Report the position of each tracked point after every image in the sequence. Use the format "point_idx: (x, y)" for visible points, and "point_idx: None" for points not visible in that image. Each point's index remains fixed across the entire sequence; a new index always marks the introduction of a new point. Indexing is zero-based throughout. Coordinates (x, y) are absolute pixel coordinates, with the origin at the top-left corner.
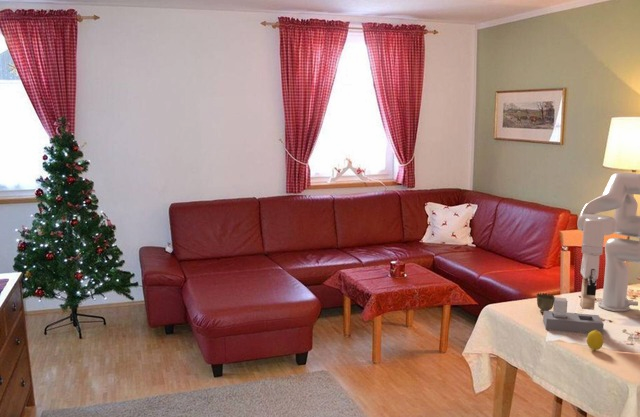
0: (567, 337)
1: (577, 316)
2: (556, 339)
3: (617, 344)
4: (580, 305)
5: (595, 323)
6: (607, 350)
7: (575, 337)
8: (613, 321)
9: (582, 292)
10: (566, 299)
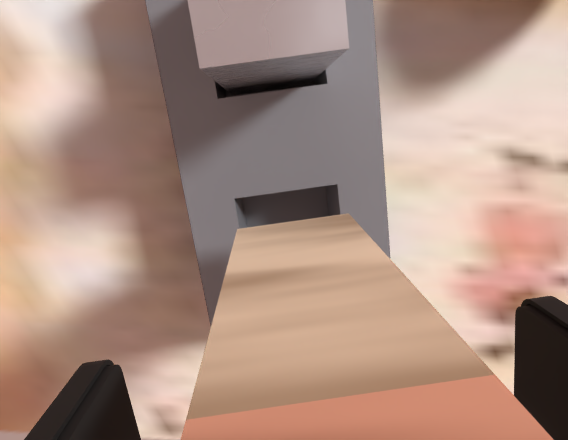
0: (98, 108)
1: (308, 179)
2: (20, 34)
3: (127, 369)
4: (334, 216)
5: (206, 298)
6: (4, 321)
7: (124, 158)
8: (495, 367)
9: (304, 286)
10: (287, 55)
